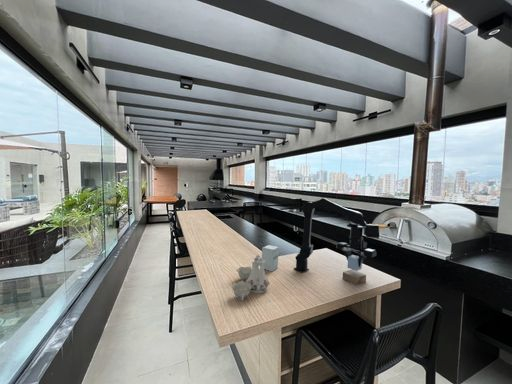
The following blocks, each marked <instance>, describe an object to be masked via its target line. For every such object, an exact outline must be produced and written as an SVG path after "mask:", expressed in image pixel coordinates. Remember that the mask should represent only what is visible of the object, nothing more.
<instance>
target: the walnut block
mask: <svg viewBox="0 0 512 384" xmlns="http://www.w3.org/2000/svg"><path fill="white" fill-rule="evenodd" d="M342 280H344V281H346V282H349V283H350V284H352V285H353V284H354V285H355V286H358V285H361V284H363V283H366V282H367V274H366V273H365V274H364V273H362V272H360V271H359V270H358V271H356V270H353V269H349V270H345V271H342Z"/></svg>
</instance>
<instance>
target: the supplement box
mask: <svg viewBox="0 0 512 384" xmlns="http://www.w3.org/2000/svg"><path fill="white" fill-rule="evenodd" d="M261 258H262V259H264V260H265V263H264V269H266V270H265V271H267V270H269V271H268V272H271V271H273V272H274V271H276V268H277V269H278V268H279V267H278V266H279V246H275V245H270V244H267V245H266V246H263V247H262V248H261Z"/></svg>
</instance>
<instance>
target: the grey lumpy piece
mask: <svg viewBox="0 0 512 384" xmlns="http://www.w3.org/2000/svg"><path fill="white" fill-rule="evenodd" d="M264 263H265V260H264V259H262V256H260V254H257V255H256V257H254V258H252V259H251V267H250V266H246V267H245V266H240V267H238V268H237V269H236V272H237V275H238V277H239V278H240V279H241V280H240V281H238V282H237V283H236V282H233V283H232V285H231V287H232V291H233V293H234V295H235V297H236V298H237V299H238V300H240V301H242V302H244V300H246V299H247V296H248V295H249V294H250V292H251V293H253V294H263V293H265V292H266V291H267V288H268V286H269V285H270V281H269V278H268V277H267V275H266V272H265V270H264Z"/></svg>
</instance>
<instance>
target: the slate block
mask: <svg viewBox="0 0 512 384" xmlns="http://www.w3.org/2000/svg"><path fill="white" fill-rule="evenodd" d="M362 266H363V264H362V265H361V267H359V255H354V254H351V256H348V261H347V269H349V270H352V269H353V270H355V271H358V272H359V271H360V270H362V268H363V267H362Z"/></svg>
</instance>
